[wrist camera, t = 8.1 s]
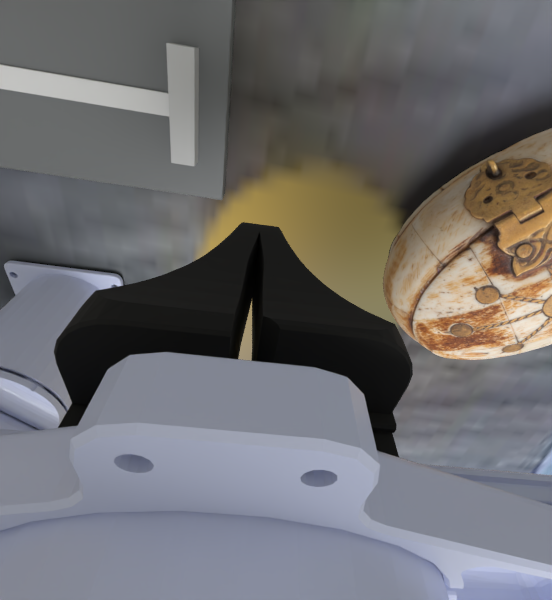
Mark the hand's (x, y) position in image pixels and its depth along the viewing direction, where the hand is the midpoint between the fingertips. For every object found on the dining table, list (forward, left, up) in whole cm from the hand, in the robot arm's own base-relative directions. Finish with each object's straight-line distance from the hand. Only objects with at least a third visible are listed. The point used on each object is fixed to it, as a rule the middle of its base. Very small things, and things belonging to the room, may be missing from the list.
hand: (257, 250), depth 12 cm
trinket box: (-2, -15, -10) cm, 19 cm away
